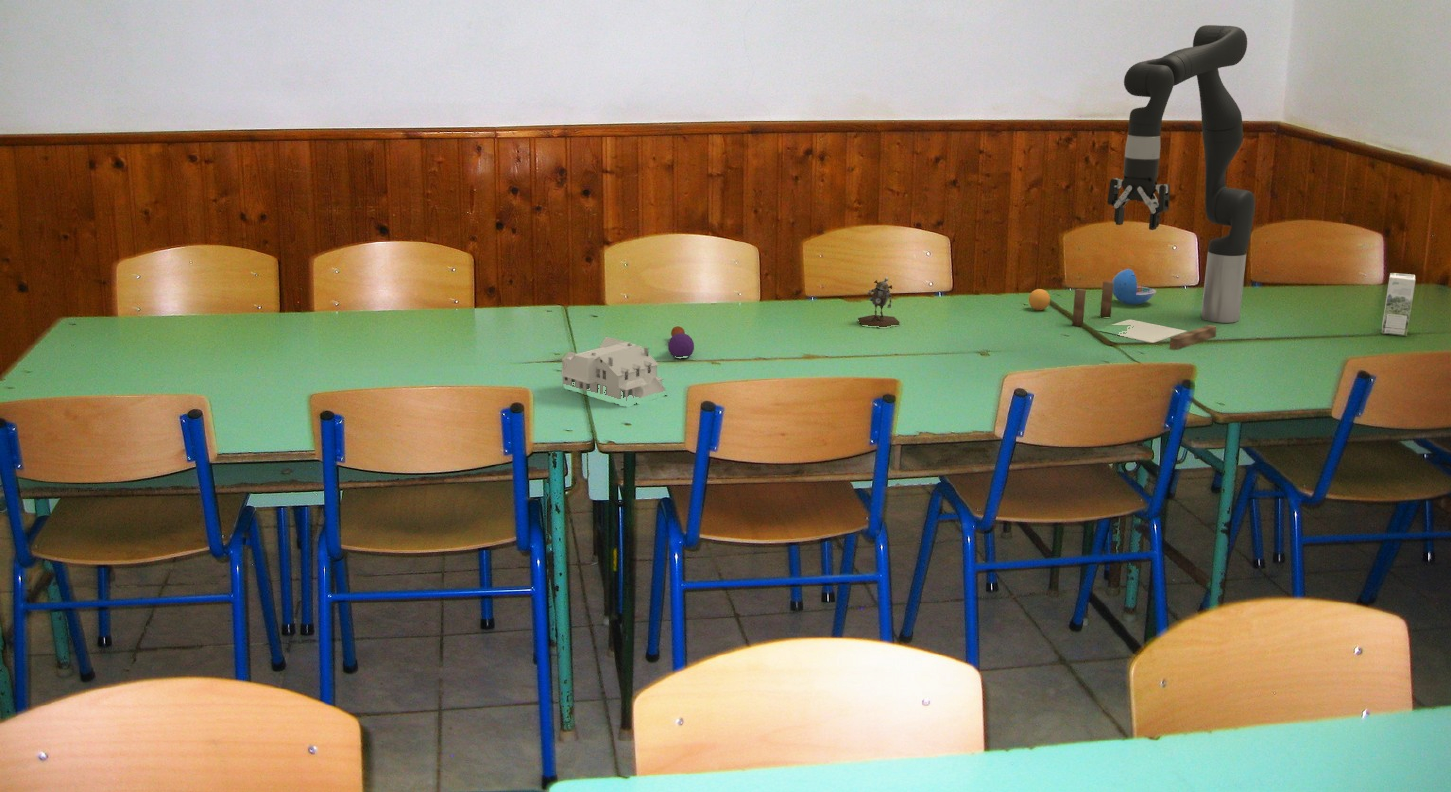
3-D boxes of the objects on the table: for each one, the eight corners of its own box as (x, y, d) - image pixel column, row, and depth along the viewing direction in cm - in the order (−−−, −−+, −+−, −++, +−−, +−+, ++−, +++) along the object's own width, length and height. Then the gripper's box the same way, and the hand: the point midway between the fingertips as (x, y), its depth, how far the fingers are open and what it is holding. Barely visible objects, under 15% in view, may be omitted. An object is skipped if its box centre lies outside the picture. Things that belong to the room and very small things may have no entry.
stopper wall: (1207, 334, 339) (1208, 324, 339) (1215, 336, 338) (1216, 326, 337) (1169, 348, 328) (1170, 337, 327) (1177, 349, 326) (1178, 339, 325)
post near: (1076, 323, 350) (1078, 288, 347) (1084, 325, 348) (1087, 290, 345) (1070, 324, 348) (1072, 289, 345) (1079, 326, 346) (1081, 291, 344)
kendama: (692, 323, 334) (697, 338, 314) (687, 347, 335) (692, 363, 316) (667, 318, 333) (671, 333, 314) (663, 343, 334) (666, 359, 315)
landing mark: (1129, 319, 353) (1129, 319, 353) (1187, 331, 342) (1187, 330, 342) (1094, 330, 343) (1094, 329, 343) (1152, 343, 332) (1152, 342, 332)
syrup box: (1406, 331, 343) (1415, 273, 339) (1406, 336, 338) (1415, 278, 334) (1381, 328, 346) (1389, 271, 341) (1381, 334, 340) (1389, 276, 336)
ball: (1035, 306, 367) (1037, 285, 365) (1053, 309, 363) (1055, 289, 362) (1023, 309, 363) (1025, 289, 362) (1041, 313, 360) (1042, 292, 358)
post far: (1103, 315, 358) (1106, 280, 355) (1112, 316, 356) (1115, 282, 354) (1098, 316, 356) (1101, 282, 354) (1106, 318, 355) (1109, 284, 352)
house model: (620, 411, 281) (619, 365, 278) (555, 392, 293) (553, 347, 290) (685, 391, 294) (685, 346, 291) (620, 373, 307) (619, 330, 304)
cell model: (1161, 307, 366) (1165, 272, 363) (1119, 309, 364) (1122, 273, 361) (1144, 299, 376) (1147, 264, 373) (1102, 300, 374) (1105, 265, 371)
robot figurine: (851, 325, 347) (852, 278, 344) (862, 317, 355) (863, 271, 352) (894, 330, 343) (896, 282, 340) (904, 321, 351) (906, 275, 348)
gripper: (1179, 157, 309) (1172, 229, 314) (1123, 150, 319) (1117, 220, 324) (1162, 160, 304) (1155, 233, 309) (1105, 153, 314) (1099, 224, 319)
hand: (1135, 226), depth 316 cm, fingers open, 8 cm apart
